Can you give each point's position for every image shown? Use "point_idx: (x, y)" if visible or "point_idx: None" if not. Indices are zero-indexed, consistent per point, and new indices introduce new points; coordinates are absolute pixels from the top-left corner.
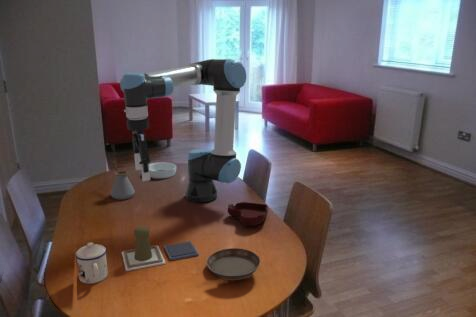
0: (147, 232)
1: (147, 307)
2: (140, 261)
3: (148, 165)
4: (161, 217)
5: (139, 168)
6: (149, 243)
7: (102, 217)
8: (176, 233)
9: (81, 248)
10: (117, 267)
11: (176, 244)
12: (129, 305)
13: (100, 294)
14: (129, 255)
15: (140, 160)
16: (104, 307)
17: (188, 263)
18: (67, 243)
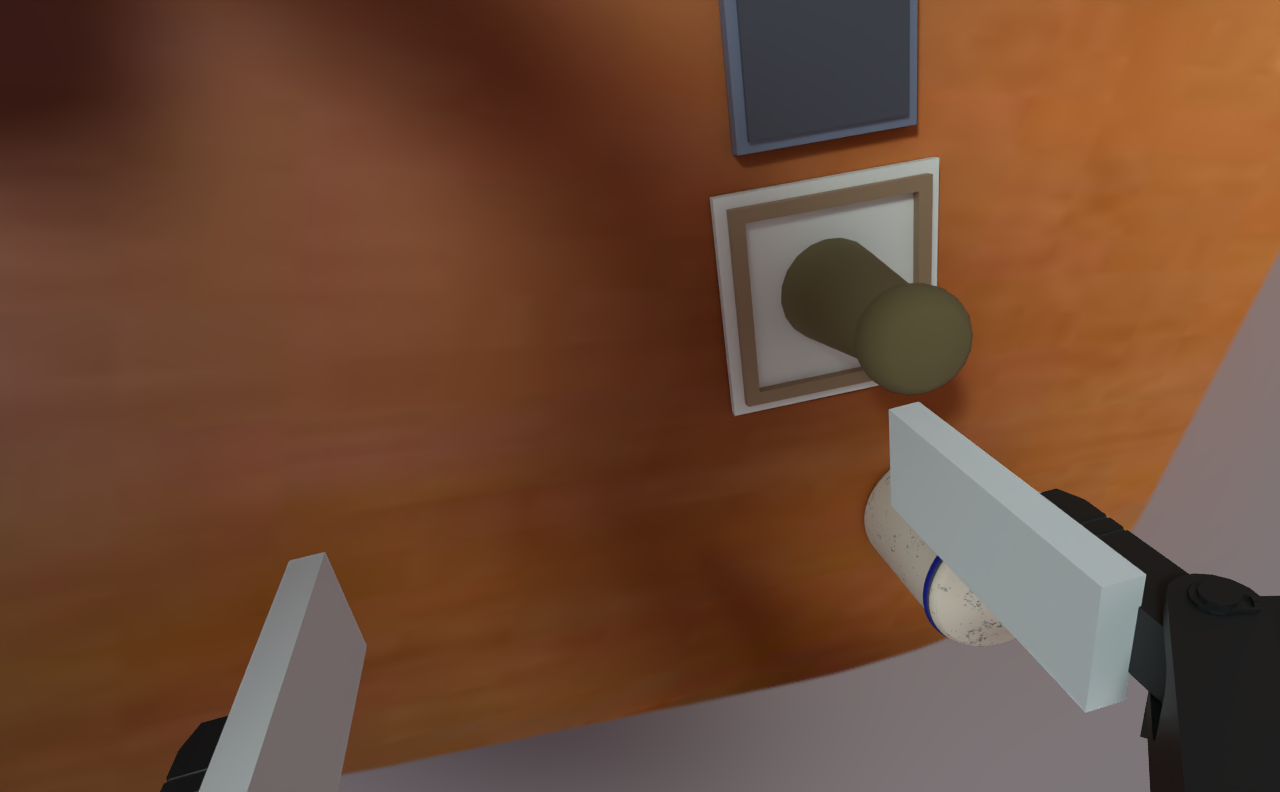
0: (957, 299)
1: (1248, 254)
2: None
3: (1097, 546)
4: (152, 157)
5: (340, 617)
6: (881, 268)
7: (152, 600)
8: (515, 43)
9: (975, 636)
10: (876, 414)
11: (758, 64)
12: (1198, 329)
13: (1069, 453)
14: (792, 368)
15: (299, 709)
16: (1161, 424)
17: (979, 4)
18: (543, 690)
